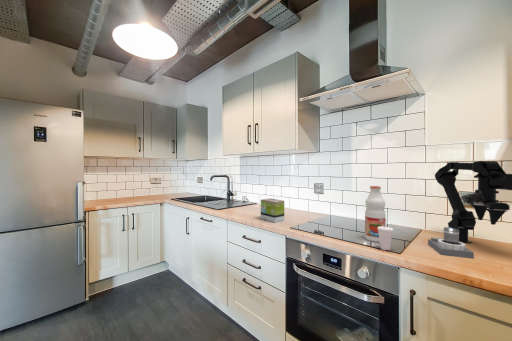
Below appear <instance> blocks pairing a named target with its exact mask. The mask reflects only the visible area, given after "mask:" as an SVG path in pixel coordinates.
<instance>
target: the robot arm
mask: <svg viewBox="0 0 512 341" xmlns="http://www.w3.org/2000/svg"><path fill="white" fill-rule="evenodd" d="M460 170H461V171H462V170H463V171H472V172H474V173H476V174H475V175H474V176H473V178H475V179H477V189H475V190H474V192H473V193H467V194H465V195H461V196H460V193H459V191H458V189H457V187H456V181H457V176H458V175H459V171H460ZM434 178H435V180H436V182H437V183H438V184H439V185H440V186H442V187H443V190H444V192H445V194H446V197H447V199H448V201H449V204H450V206H451V209H452V213H451V220H450V221H449V222H447V227H451V228H456V229H459V242H462V243H469V244H472V241H471V240H469V231H474V229H475V226H476V224H477V221H476V220H479V221H483V219H484V217H485V215H486V212H488V213H489V214H488V216H489V221H490V224H491V225H493V226H494V225H496V224H497V222H498V221H499V220H500V218H502V217H503V215H504V214H505V213H506V212H508V211H510V208H511V207H510V204H508V203H507V202H502V201H499V199H497V194H499V193H500V191H499V190H502V191H503V190H505V191H512V173H506V172H505V170H504V169H503V168H502V166H501V165H500V164H499V162H498V161H497V160H478V161H473V162H459V161H450V162H447V163H446V164H445V165H444V166H442V167H440V168H438V170H437V171H436V172H435V174H434ZM465 203H466V204H468V205H469V206H471V207H472V208H473V209H474V211H475V214H476V216H477V218H478V219H477V218H476V217H475V215H474V212H473V211H471V210H468V209H466V208H465V205H464V204H465Z"/></svg>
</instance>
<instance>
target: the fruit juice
mask: <svg viewBox="0 0 512 341" xmlns="http://www.w3.org/2000/svg"><path fill="white" fill-rule="evenodd" d="M381 188H382V187H381V186H379V185H370V186H369V189H370V192H369V194H368V197H367V198H366V200H365V208H366V209H365V211H364V238H365V240H367V241H369V242H375V243H380V240H379V232H378V227H380V226H383V227H385V218H386V211H385V207H386V201H385V199H384V198H383V196H382V193H381Z"/></svg>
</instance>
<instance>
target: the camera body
mask: <svg viewBox="0 0 512 341" xmlns="http://www.w3.org/2000/svg"><path fill="white" fill-rule="evenodd" d="M427 245H428V246H430V247H431V248H432V249H434V251H436V252H437V253H439V255H441V256H449V257H451V256H452V257H459V258H467V259H468V258H469V259H474V258H475V255H474V254H475V252H474V251H472V250H470V249H469V248H467V247H466V243H465V242H459V245H454V244H448V243H445V242H444V237H443V238H441V237H432V236H431V237H430V239H429V238H428V239H427Z"/></svg>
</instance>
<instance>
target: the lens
mask: <svg viewBox="0 0 512 341" xmlns="http://www.w3.org/2000/svg"><path fill="white" fill-rule="evenodd" d="M443 239H444V242H445V243H448V244H454V245H459V229H456V228H451V227H448V226H444V227H443Z"/></svg>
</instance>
